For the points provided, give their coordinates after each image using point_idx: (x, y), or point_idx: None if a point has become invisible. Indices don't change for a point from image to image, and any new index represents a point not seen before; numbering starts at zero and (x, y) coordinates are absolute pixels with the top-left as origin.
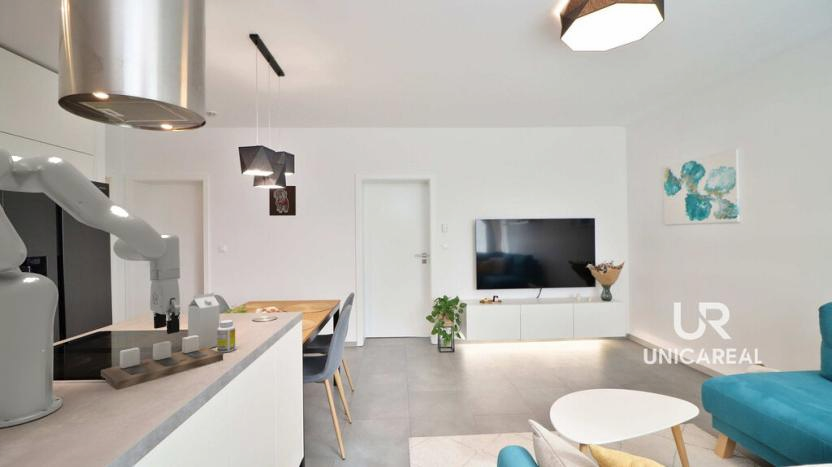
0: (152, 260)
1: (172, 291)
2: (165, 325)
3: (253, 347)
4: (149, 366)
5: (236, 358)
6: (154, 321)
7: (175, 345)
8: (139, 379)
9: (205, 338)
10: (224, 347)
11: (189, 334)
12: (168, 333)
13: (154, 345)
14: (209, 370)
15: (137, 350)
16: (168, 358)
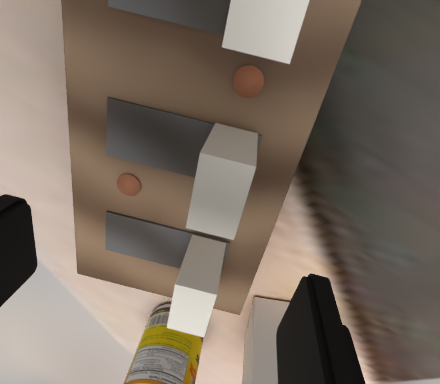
0: None
1: None
2: (277, 336)
3: (131, 350)
4: (176, 61)
5: (72, 277)
6: (328, 337)
7: (428, 322)
8: None
9: (248, 351)
10: (152, 319)
11: None
12: (5, 199)
13: (228, 157)
14: (19, 177)
15: (226, 28)
16: None
